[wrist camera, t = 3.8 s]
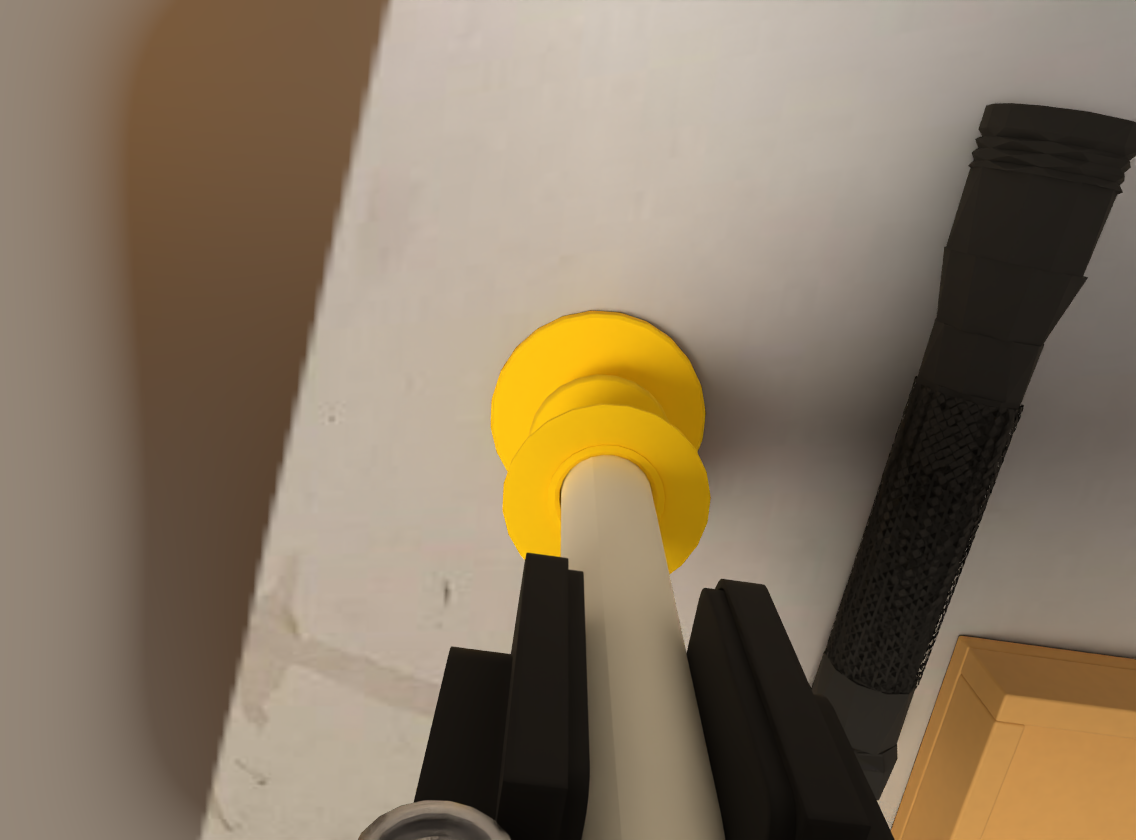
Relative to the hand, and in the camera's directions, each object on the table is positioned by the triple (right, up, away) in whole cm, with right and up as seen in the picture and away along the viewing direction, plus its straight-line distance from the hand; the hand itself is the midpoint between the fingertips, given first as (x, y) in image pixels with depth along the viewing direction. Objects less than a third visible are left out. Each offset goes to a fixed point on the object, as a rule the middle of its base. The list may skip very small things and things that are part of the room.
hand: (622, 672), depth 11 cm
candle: (0, +3, +10) cm, 11 cm away
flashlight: (+8, +2, +11) cm, 13 cm away
